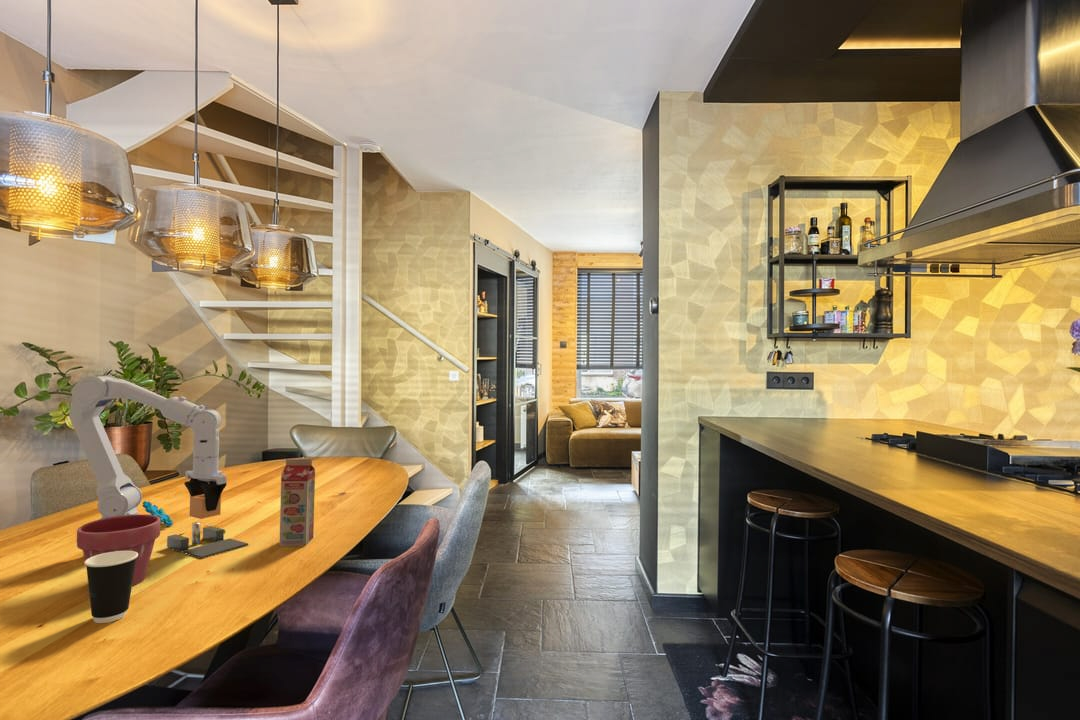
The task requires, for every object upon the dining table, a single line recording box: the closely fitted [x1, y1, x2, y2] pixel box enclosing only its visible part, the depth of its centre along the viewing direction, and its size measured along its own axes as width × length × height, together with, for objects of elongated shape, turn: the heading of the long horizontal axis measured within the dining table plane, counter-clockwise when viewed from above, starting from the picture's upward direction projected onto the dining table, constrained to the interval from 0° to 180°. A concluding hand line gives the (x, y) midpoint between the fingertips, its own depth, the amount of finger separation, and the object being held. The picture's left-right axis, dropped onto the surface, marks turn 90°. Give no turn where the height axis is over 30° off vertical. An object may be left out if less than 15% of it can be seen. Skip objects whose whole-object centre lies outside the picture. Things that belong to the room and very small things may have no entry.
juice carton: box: [278, 458, 316, 547], centre depth 148 cm, size 7×7×22 cm
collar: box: [189, 494, 222, 520], centre depth 144 cm, size 5×5×5 cm
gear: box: [142, 500, 174, 527], centre depth 159 cm, size 11×6×10 cm
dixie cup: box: [84, 551, 138, 624], centre depth 103 cm, size 8×8×11 cm
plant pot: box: [76, 514, 161, 586], centre depth 119 cm, size 14×14×13 cm
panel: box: [182, 538, 249, 559], centre depth 141 cm, size 12×8×1 cm, turn 151°
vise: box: [166, 521, 226, 553], centre depth 146 cm, size 13×6×6 cm, turn 151°
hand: (204, 509), depth 144 cm, fingers closed on collar, 5 cm apart
